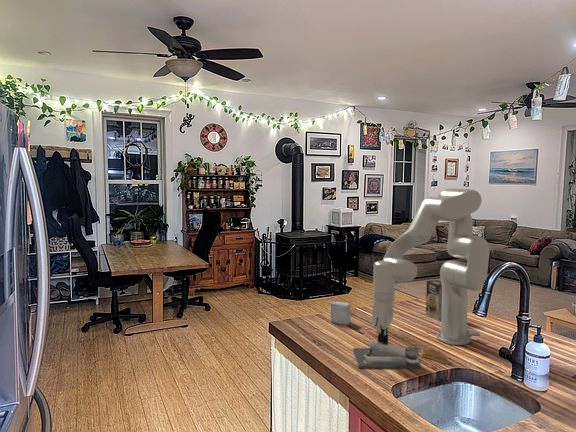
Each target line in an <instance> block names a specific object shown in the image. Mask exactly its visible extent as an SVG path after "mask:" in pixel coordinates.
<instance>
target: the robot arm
mask: <svg viewBox="0 0 576 432" xmlns="http://www.w3.org/2000/svg"><path fill="white" fill-rule="evenodd" d="M482 201H483V199H482V196H481V194H480V193H479V192H478V191H477V190H475V189H469V188H468V189H466V188H465V189H464V188H446V189H443V190H440V191H439V193H438V196H436V197H435V196H434V197H433V196H430V197H426V198H425V199H423V200H422V202H421V203H420V204H419V206H418V209H417V210H416V213H415V215H414V217H413V219H412V221H411V222H410V225H409V226H408V228H407V230H406V231H405V232H404V233H402V234H401V235H399V236H398V237H397V238H396V239H395V240H394V241H392V243H391V244H390V245H389V247H388V248H387V249H386V252H385V254H384V257H383V258H382V260H377V261H375V262H374V263H373V269H372V271H373V273H372V275H373V277H372V278H373V280H372V283H373V284H372V285H373V286H372V299H373V305H372V312H371V314H372V315H371V327H372V328H376V333H377V341H378V342H383V343H387V344H389V329H390V328H389V326H391V324H392V323H393V320H394V303H393V302H394V301H395V293H396V292H395V291H396V290H395V289H396V286H395V284H396V283H395V282H411V281H413V280H414V279H415V278H417V275H418V267H417V265H416V264H415V263H414V262H413V261H410V260H407V259H403V256H404V255H405V254H406V253H407V252H408V251H410V249H413V248H415V247H417V246H418V247H419V246H420V245H424V244H425V243H428V242H429V241H430V240H431V237H432V235H433V233H434V231H435V229H436V228H437V226H438V224H439V222H441V221H442V222H449V223H448V224H449V226H448V235H447V244H446V245H447V246H446V251H447V253H448V255H450V256H451V257H454V258H456V259H457V258H458V259H462V260H466V261H467V262H463V261H459V260H447V261H445V262H443V263H442V265H441V267H440V270H439V277H440V281H441V283H442V317H441V319H440V320H441V321H440V323H441V324H440V325H441V326H440V331H439V332H436V338H437V340H439V341H440V342H443V343H444V344H448V345H452V346H454V345H455V346H465V345H468V344H470V343H471V341H472V337H480V331H479V330H474V329H468V308H469V305H468V304H469V296H468V292H467V291H468V290H469V291H473V292H476V291H480V290H481V289H482V288H484V286H485V284H484V282H485V280H486V281H487V276H488V268H489V261H490V245H489V243H488V241H487V240H486V239H485V238H484V237H481V236H479V235H473V231H474V230H473V227H474V222H473V217H472V213H475V212H477V211H478V209H480V207H481V205H482ZM485 283H486V282H485ZM483 285H484V286H483Z"/></svg>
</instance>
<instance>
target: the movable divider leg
mask: <svg viewBox="0 0 576 432" xmlns="http://www.w3.org/2000/svg"><path fill="white" fill-rule="evenodd" d="M368 348H369V352H372V349H377V350H381V351H385V352H390V353H394V354H398V355H403V356H405V357H406V358H408V359H418V358H419V355H420V354H419V351H420V350H419V348H417V347H415V346H407V347H405V346H399V345H396V344H391V343H388V344H387V343H383V342H378V340H373V339H371V340H369V346H368Z"/></svg>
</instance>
